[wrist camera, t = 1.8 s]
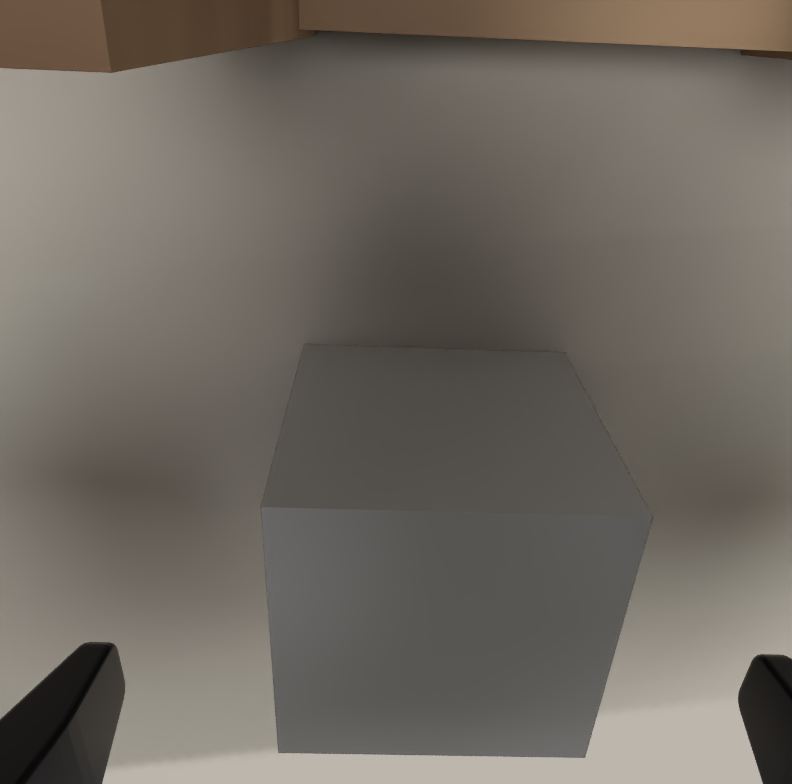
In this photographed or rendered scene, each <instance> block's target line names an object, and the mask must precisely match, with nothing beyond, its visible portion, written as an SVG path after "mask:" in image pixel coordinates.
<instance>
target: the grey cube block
mask: <svg viewBox="0 0 792 784" xmlns="http://www.w3.org/2000/svg"><path fill="white" fill-rule="evenodd" d="M652 518H653V517H652V515H651V513H650V511H649V509H648V507H647V505H646V503H645V502H644V500H643V498H642V496H641V494H640V492H639V490H638V488H637V487H636V485H635V483H634V481H633V479H632V477H631V475H630V473H629V472H628V470H627V468H626V466H625V464H624V462H623V460H622V458H621V457H620V455H619V453H618V451H617V449H616V447H615V445H614V443H613V442H612V440H611V438H610V436H609V434H608V432H607V430H606V428H605V427H604V425H603V423H602V421H601V419H600V417H599V415H598V413H597V412H596V410H595V408H594V406H593V404H592V402H591V400H590V398H589V397H588V395H587V393H586V391H585V389H584V387H583V385H582V383H581V381H580V380H579V378H578V376H577V374H576V372H575V370H574V368H573V366H572V365H571V363H570V361H569V359H568V357H567V355H566V353H565V352H538V351H506V350H474V349H442V348H410V347H379V346H347V345H315V344H304V346H303V350H302V353H301V357H300V361H299V365H298V368H297V372H296V376H295V380H294V383H293V387H292V391H291V395H290V399H289V402H288V406H287V410H286V414H285V417H284V421H283V425H282V429H281V432H280V436H279V440H278V444H277V447H276V451H275V455H274V459H273V462H272V466H271V470H270V474H269V477H268V481H267V485H266V489H265V493H264V496H263V500H262V504H261V519H262V533H263V547H264V561H265V575H266V589H267V602H268V616H269V630H270V644H271V658H272V672H273V686H274V700H275V713H276V727H277V741H278V753H322V754H327V753H328V754H385V755H386V754H387V755H448V756H512V757H573V758H585V756H586V752H587V749H588V745H589V741H590V738H591V735H592V731H593V727H594V724H595V720H596V717H597V713H598V710H599V706H600V703H601V699H602V696H603V692H604V688H605V685H606V681H607V678H608V674H609V671H610V667H611V664H612V660H613V657H614V653H615V649H616V646H617V642H618V639H619V635H620V632H621V628H622V625H623V621H624V618H625V614H626V610H627V607H628V603H629V600H630V596H631V593H632V589H633V586H634V582H635V578H636V575H637V571H638V568H639V564H640V561H641V557H642V554H643V550H644V547H645V543H646V539H647V536H648V532H649V529H650V525H651V522H652Z"/></svg>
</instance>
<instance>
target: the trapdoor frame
mask: <svg viewBox="0 0 792 784" xmlns="http://www.w3.org/2000/svg"><path fill="white" fill-rule="evenodd" d="M315 30H323V31H345V32H367V33H390V34H412V35H434V36H456V37H479V38H501V39H523V40H545V41H568V42H590V43H612V44H635V45H657V46H679V47H701V48H724V49H742V52H741V55H750V56H761V57H771V58H782V59H792V0H0V68H14V69H37V70H61V71H84V72H107V73H112V72H118V71H123V70H129V69H134V68H140V67H145V66H151V65H156V64H162V63H167V62H173V61H178V60H184V59H189V58H195V57H200V56H206V55H211V54H217V53H222V52H228V51H233V50H239V49H244V48H250V47H255V46H261V45H266V44H272V43H277V42H282V41H288V40H293V39H299V38H304V37H310V36H315Z"/></svg>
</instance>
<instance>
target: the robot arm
mask: <svg viewBox="0 0 792 784" xmlns="http://www.w3.org/2000/svg"><path fill="white" fill-rule="evenodd" d="M124 694H125V680H124V675H123V671H122V667H121V662H120V658H119V653H118V650H117V647H116V646H115V645H114V644H113V643H108V642H88V643H84V644H83V645H81V646H79V647H78V648H77V649H76V650H75V651H74V652H73V653H72V654H71V655H70V656H68V657H67V658H66V659H65V660H64V661H63V662H62V663H61V664H60V665H59V666H58V667H57V668H55V669H54V670H53V671H52V672H51V673H50V674H49V675H48V676H47V677H46V678H45V679H44V680H42V681H41V682H40V683H39V684H38V685H37V686H36V687H35V688H34V689H33V690H32V691H30V692H29V693H28V694H27V695H26V696H25V697H24V698H23V699H22V700H21V701H20V702H19V703H17V704H16V705H15V706H14V707H13V708H12V709H11V710H10V711H9V712H8V713H7V714H6V715H4V716H3V717H2V718H1V719H0V784H102V781H103V778H104V774H105V770H106V766H107V762H108V758H109V754H110V750H111V747H112V743H113V739H114V735H115V731H116V727H117V723H118V719H119V715H120V712H121V708H122V704H123V700H124ZM738 703H739V708H740V712H741V715H742V718H743V722H744V725H745V728H746V731H747V734H748V738H749V741H750V744H751V747H752V750H753V753H754V756H755V760H756V763H757V766H758V769H759V772H760V775H761V779H762V782H763V784H792V659H791V658H789V657H787V656H784V655H768V654H761V655H757V656H756V657H754V658H753V660H752V662H751V664H750V666H749V669H748V671H747V673H746V676H745V678H744V680H743V683H742V685H741V687H740V690H739V695H738Z"/></svg>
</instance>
